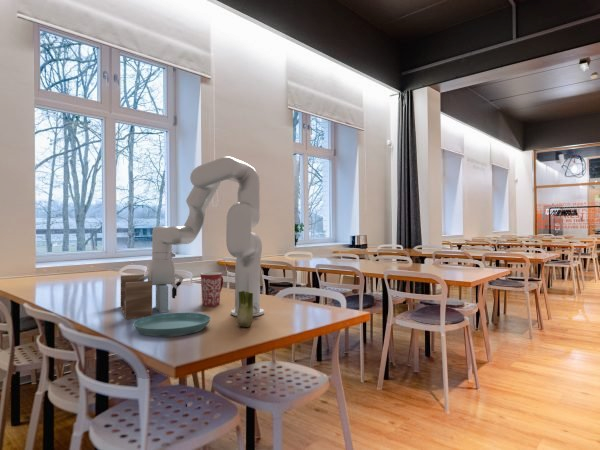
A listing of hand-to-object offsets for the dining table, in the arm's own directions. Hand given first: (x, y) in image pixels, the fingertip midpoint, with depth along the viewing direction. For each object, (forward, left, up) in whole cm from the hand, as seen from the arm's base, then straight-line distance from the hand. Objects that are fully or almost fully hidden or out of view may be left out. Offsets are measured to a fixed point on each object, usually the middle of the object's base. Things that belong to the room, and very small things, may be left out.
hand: (161, 298), depth 167 cm
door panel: (0, 0, -4) cm, 4 cm away
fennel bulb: (-43, -20, -4) cm, 48 cm away
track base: (0, +10, -4) cm, 11 cm away
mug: (+2, -22, -4) cm, 23 cm away
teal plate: (-35, +2, -5) cm, 36 cm away
